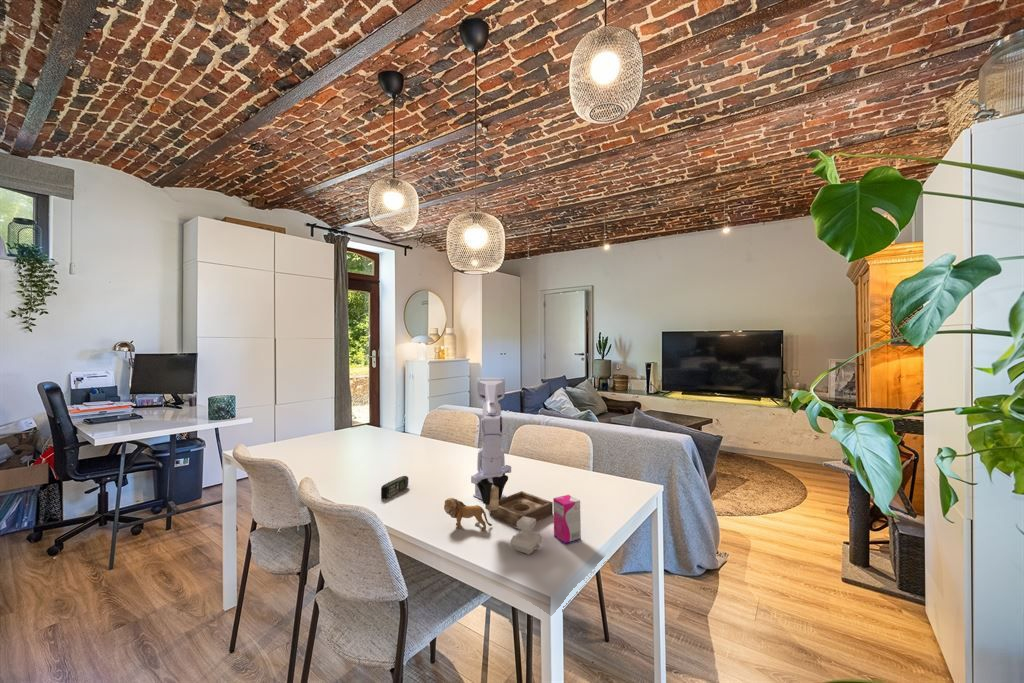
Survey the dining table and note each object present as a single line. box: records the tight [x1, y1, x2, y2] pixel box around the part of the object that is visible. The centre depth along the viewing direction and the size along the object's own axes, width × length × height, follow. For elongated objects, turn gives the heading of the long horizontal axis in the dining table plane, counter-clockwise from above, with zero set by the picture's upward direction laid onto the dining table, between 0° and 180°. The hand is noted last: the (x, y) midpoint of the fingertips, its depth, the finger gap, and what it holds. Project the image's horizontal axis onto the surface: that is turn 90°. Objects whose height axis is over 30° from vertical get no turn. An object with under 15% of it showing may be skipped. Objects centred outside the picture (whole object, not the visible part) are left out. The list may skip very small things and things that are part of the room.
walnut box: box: [489, 491, 554, 529], centre depth 134 cm, size 14×15×4 cm
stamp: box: [509, 516, 543, 555], centre depth 112 cm, size 9×7×8 cm
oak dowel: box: [484, 485, 499, 511], centre depth 123 cm, size 4×4×6 cm
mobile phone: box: [380, 475, 409, 500], centre depth 154 cm, size 5×3×15 cm
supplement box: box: [552, 494, 582, 545], centre depth 119 cm, size 6×6×12 cm
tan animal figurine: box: [443, 497, 493, 531], centre depth 126 cm, size 15×5×9 cm, turn 92°
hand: (491, 501), depth 123 cm, fingers closed on oak dowel, 4 cm apart
